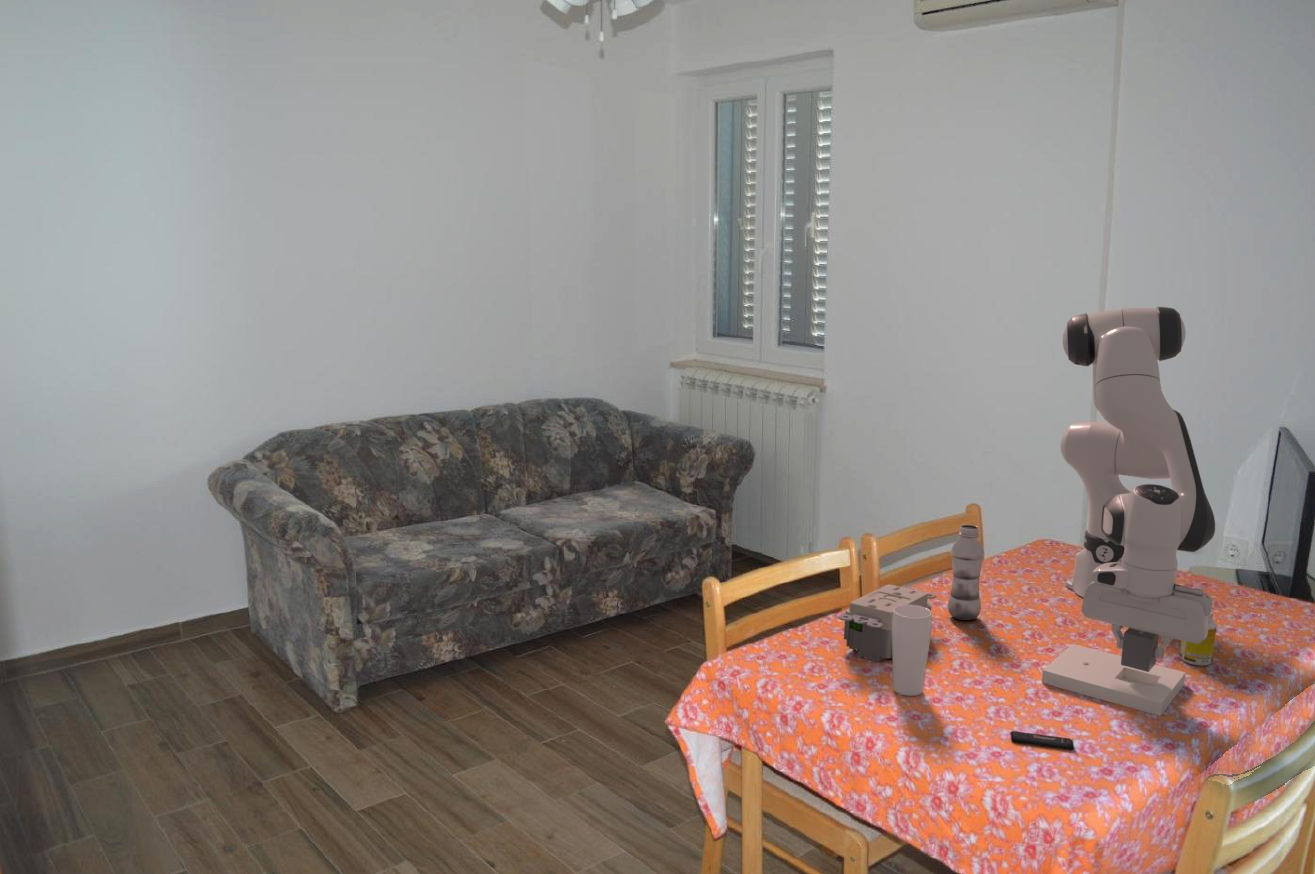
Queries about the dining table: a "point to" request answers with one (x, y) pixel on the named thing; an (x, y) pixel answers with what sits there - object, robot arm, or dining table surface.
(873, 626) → the electrical outlet
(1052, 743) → the usb stick
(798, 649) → the dining table surface
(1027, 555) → the dining table surface
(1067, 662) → the outlet plate
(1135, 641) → the block
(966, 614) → the plastic bottle
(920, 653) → the drinking glass
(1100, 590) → the robot arm
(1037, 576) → the dining table surface
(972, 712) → the dining table surface
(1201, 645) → the supplement bottle
